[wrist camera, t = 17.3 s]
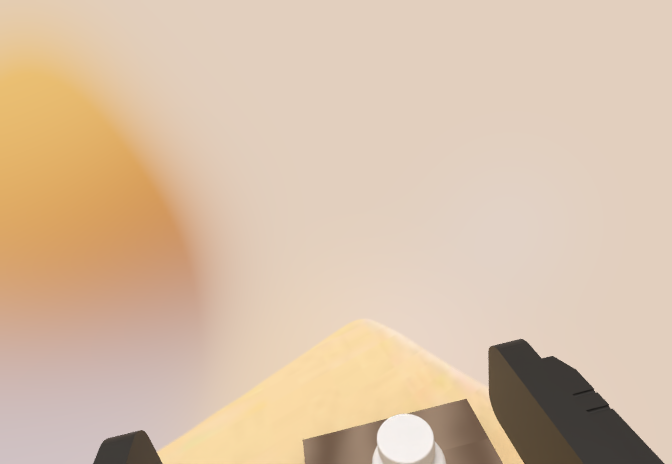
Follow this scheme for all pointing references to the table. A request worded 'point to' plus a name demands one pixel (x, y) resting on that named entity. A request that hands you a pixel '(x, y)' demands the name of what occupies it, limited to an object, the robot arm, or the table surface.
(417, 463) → the supplement bottle
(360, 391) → the table surface
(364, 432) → the socket plate
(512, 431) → the robot arm
